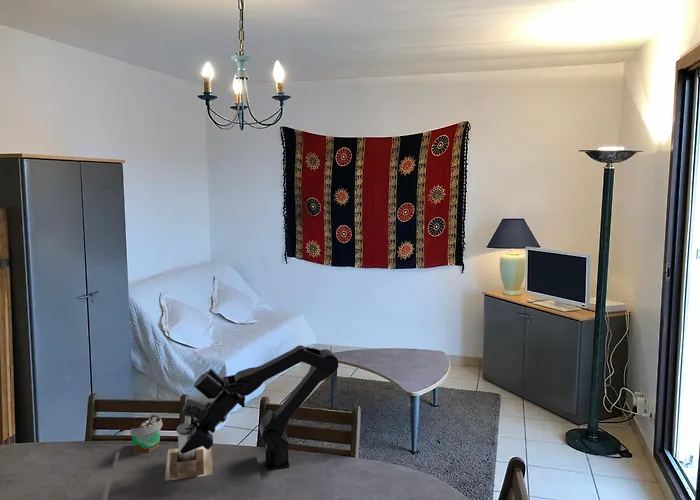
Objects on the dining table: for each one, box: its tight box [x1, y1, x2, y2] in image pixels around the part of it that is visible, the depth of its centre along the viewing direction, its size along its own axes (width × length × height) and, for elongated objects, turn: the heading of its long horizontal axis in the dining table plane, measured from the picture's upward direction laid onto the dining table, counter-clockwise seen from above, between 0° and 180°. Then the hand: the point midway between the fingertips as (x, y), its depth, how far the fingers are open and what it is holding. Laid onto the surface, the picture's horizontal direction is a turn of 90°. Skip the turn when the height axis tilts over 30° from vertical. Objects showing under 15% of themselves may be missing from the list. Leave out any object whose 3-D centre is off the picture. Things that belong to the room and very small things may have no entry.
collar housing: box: [164, 446, 214, 481], centre depth 168 cm, size 13×19×6 cm
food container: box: [130, 413, 164, 455], centre depth 176 cm, size 12×6×10 cm, turn 168°
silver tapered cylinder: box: [176, 422, 195, 462], centre depth 162 cm, size 5×5×13 cm
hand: (181, 448), depth 162 cm, fingers closed on silver tapered cylinder, 4 cm apart
